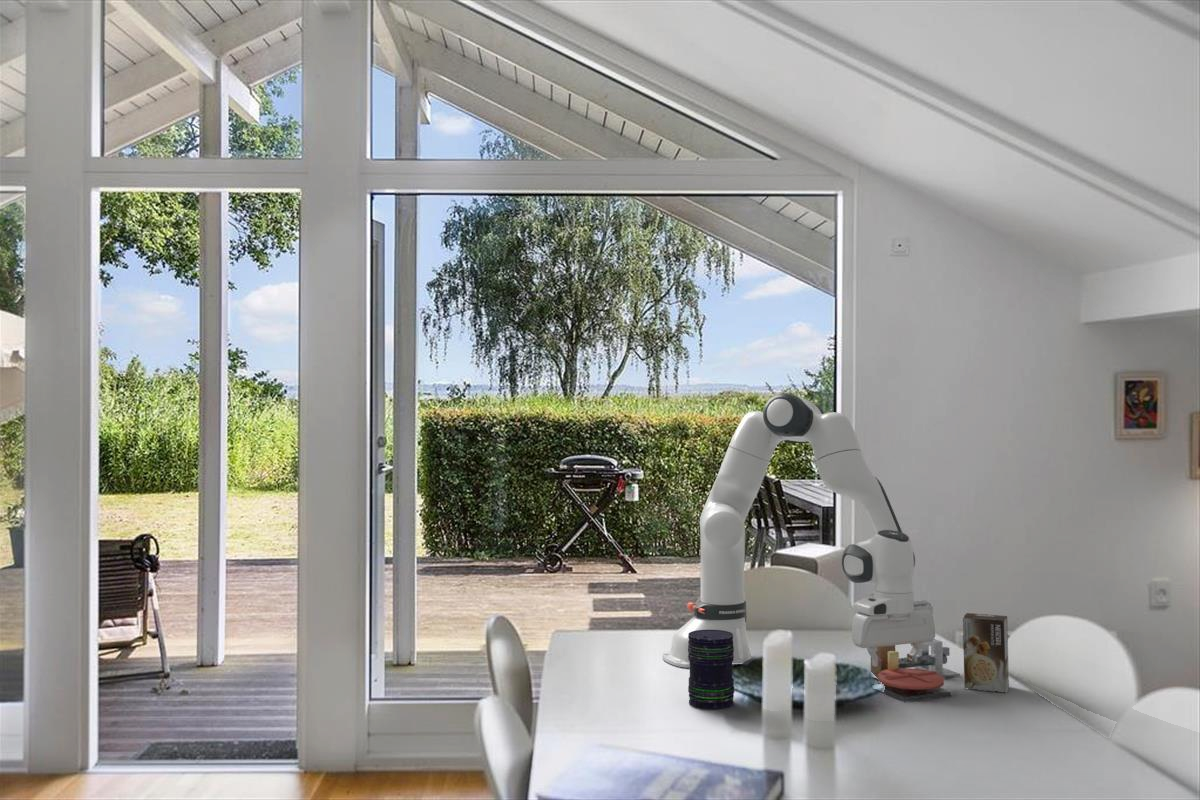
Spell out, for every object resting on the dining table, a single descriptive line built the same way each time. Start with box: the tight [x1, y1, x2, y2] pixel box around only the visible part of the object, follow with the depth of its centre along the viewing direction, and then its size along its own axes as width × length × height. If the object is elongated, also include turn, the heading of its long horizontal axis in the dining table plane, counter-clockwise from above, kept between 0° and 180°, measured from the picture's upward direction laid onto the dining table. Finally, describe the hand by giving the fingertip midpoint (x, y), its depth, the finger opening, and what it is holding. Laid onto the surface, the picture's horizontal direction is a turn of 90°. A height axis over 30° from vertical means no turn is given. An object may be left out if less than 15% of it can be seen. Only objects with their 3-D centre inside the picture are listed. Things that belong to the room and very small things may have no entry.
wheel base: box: [883, 685, 952, 703], centre depth 242 cm, size 12×12×1 cm
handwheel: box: [877, 650, 945, 690], centre depth 242 cm, size 14×14×6 cm
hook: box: [870, 645, 951, 678], centre depth 256 cm, size 20×4×8 cm, turn 110°
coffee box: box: [962, 612, 1010, 693], centre depth 245 cm, size 9×6×16 cm
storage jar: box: [687, 630, 735, 711], centre depth 234 cm, size 10×10×15 cm
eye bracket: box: [914, 638, 961, 679], centre depth 258 cm, size 6×9×8 cm, turn 20°
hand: (894, 664), depth 247 cm, fingers open, 8 cm apart
